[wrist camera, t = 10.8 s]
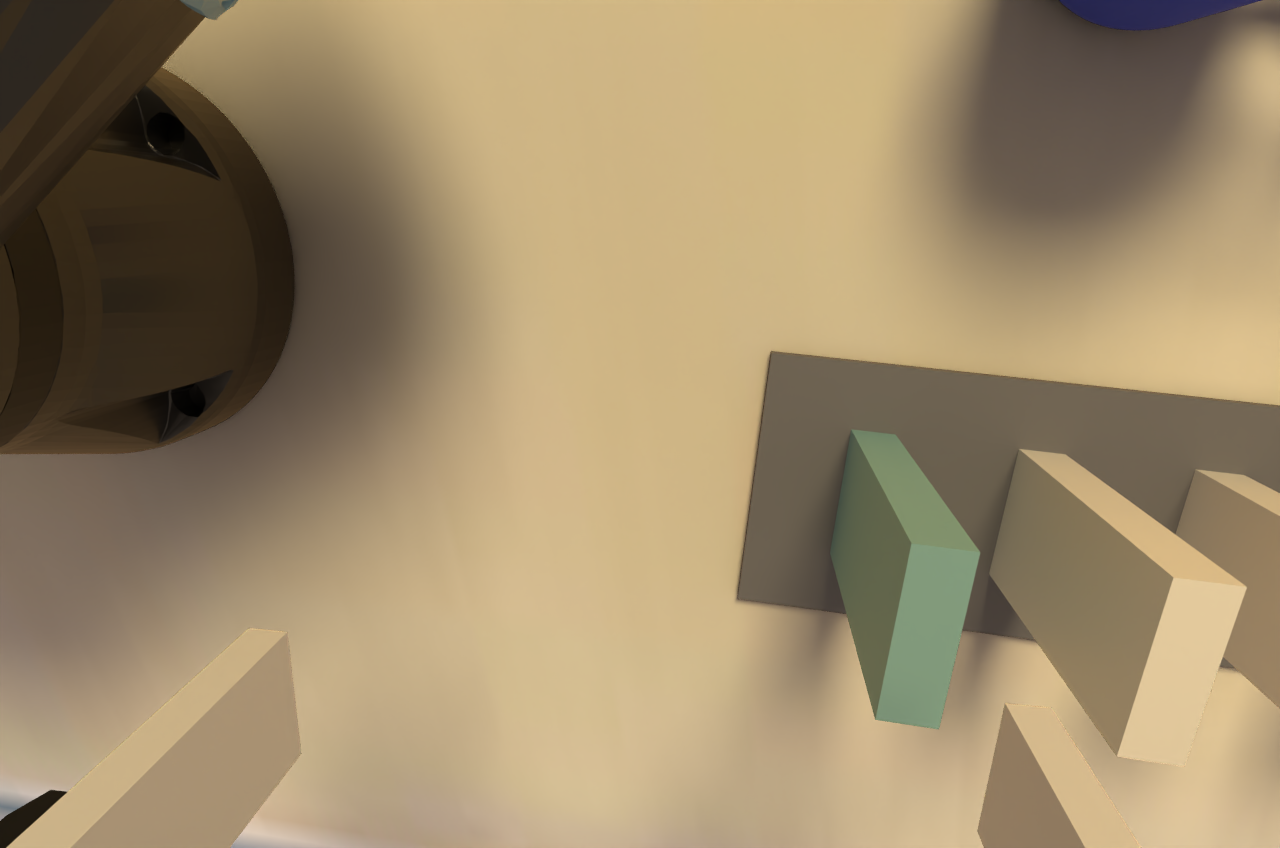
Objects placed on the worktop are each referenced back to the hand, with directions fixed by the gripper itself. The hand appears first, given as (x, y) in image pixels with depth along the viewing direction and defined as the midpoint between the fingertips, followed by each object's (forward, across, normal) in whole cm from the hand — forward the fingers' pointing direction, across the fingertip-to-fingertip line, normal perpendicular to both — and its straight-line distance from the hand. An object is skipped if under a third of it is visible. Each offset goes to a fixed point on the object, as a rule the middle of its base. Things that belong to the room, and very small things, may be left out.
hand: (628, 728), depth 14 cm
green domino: (+16, +7, -1) cm, 17 cm away
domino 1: (+16, +13, -2) cm, 20 cm away
